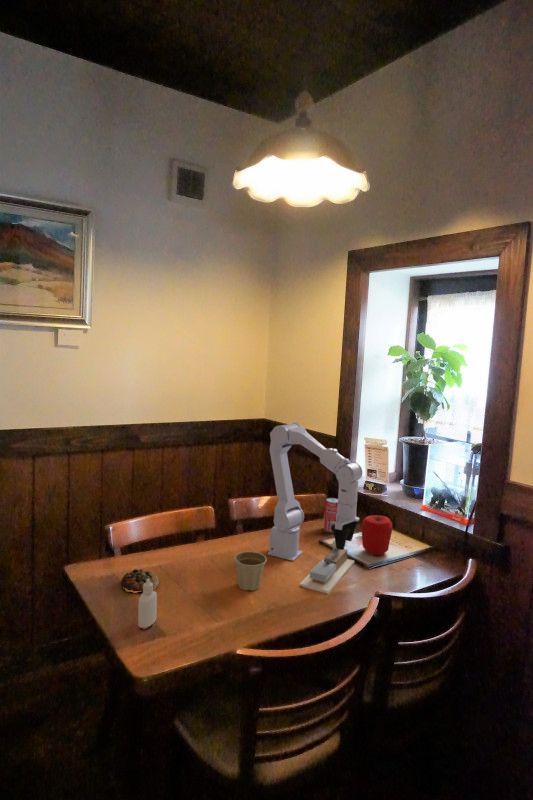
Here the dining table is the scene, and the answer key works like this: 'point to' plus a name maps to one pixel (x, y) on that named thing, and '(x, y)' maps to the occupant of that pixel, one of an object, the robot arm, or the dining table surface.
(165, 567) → the dining table surface
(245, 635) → the dining table surface
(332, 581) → the latch box
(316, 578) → the cover
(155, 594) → the eye dropper bottle
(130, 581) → the bread roll
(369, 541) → the apple
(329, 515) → the soda can
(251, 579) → the flower pot
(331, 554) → the bolt
